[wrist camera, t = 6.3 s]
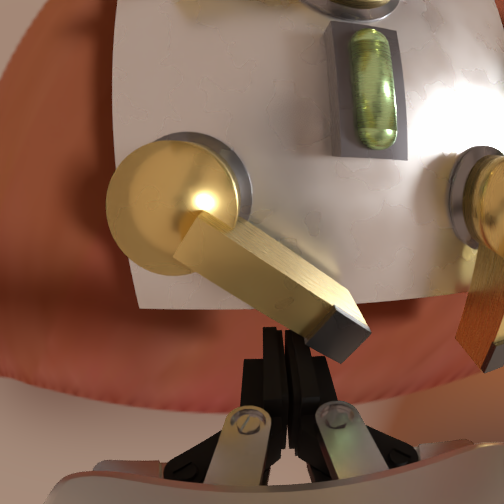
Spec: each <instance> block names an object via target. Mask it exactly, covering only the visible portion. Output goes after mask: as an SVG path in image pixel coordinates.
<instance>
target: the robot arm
mask: <svg viewBox="0 0 504 504" xmlns="http://www.w3.org/2000/svg"><path fill="white" fill-rule="evenodd" d="M287 427H288V439H289V448H290V449H294V448H295V456H298V457H299V458H301V459H302V460H304V461H305V462H306V464H307V469H308V473H309V476H310V479H311V482H312V483H306V484H293V485H273V486H268V481H269V475H270V469H271V465H273V464H274V463H275V462H276V461H278V460H279V459H280V458H281V449H285V447H286V435H287ZM44 504H504V443H502V442H487V443H478V444H474V443H473V442H472V441H469V440H467V439H459V440H453V441H445V442H438V443H428V444H419V445H418V447H412V446H411V445H409V444H407V443H405V442H402V441H400V440H398V439H396V438H393V437H391V436H389V435H386V434H384V433H382V432H380V431H378V430H375V429H373V428H371V427H369V426H367V425H365V423H364V421H363V420H362V418H361V416H360V414H359V412H358V411H357V409H356V408H355V407H354V406H353V405H351V404H350V403H347V402H344V401H338V400H337V396H336V392H335V389H334V385H333V382H332V378H331V375H330V371H329V368H328V364H327V361H326V358H325V356H315V357H312V356H311V352H310V348H309V346H307V345H305V341H304V337H303V336H301V335H299V334H297V333H296V332H294V331H292V330H285V355H284V346H283V337H282V330H277V329H276V327H263V359H244V365H243V378H242V391H241V403H240V407H238V408H236V409H234V410H232V411H231V412H230V413H229V414H228V416H227V417H226V420H225V423H224V425H223V428H222V430H221V431H219V432H218V433H216V434H215V435H213V436H211V437H210V438H208V439H206V440H205V441H203V442H201V443H200V444H198V445H196V446H194V447H193V448H191V449H190V450H187V451H186V452H184V453H183V454H180V455H179V456H177V457H175V458H174V459H172V460H170V461H169V462H168V463H160V461H159V460H158V461H123V460H104V461H101V462H99V463H98V464H97V465H96V466H95V467H94V468H93V471H86V472H79V473H74V474H70V475H68V476H65V477H64V478H62V479H61V480H60V481H59V482H58V483H57V484H56V485H55V486H54V488H53V489H52V491H51V492H50V494H49V495H48V497H47V499H46V500H45V502H44Z"/></svg>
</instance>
